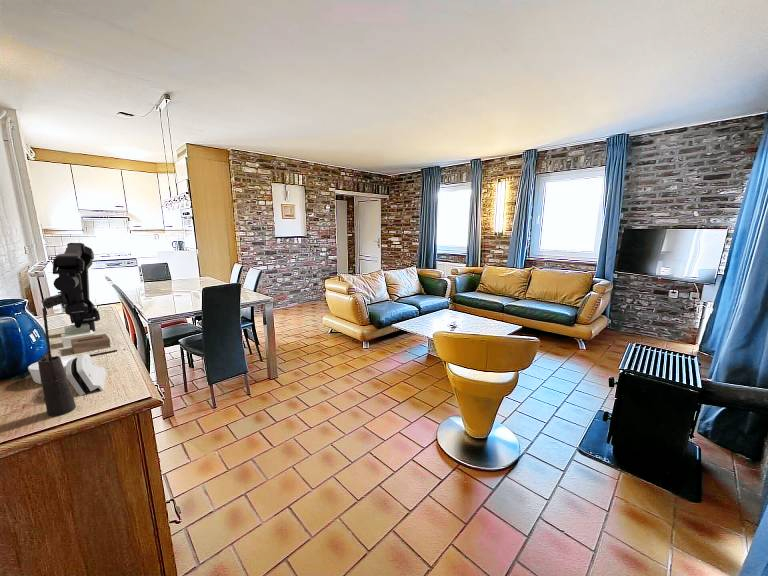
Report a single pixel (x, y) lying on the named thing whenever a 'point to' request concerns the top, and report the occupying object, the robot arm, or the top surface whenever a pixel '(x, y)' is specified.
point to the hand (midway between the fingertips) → (76, 325)
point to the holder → (67, 340)
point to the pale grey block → (76, 330)
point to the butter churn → (54, 381)
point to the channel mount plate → (91, 344)
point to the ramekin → (36, 374)
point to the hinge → (85, 374)
